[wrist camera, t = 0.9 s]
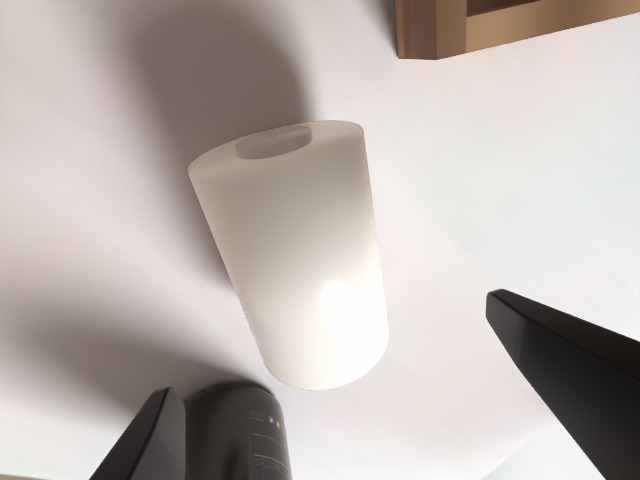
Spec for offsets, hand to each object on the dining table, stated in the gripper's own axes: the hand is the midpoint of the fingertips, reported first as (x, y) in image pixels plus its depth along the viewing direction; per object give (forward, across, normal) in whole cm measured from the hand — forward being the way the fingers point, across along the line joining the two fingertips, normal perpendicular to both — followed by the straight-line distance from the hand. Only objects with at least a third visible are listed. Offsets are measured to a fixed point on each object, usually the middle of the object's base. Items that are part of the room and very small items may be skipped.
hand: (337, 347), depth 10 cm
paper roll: (+5, 0, 0) cm, 5 cm away
